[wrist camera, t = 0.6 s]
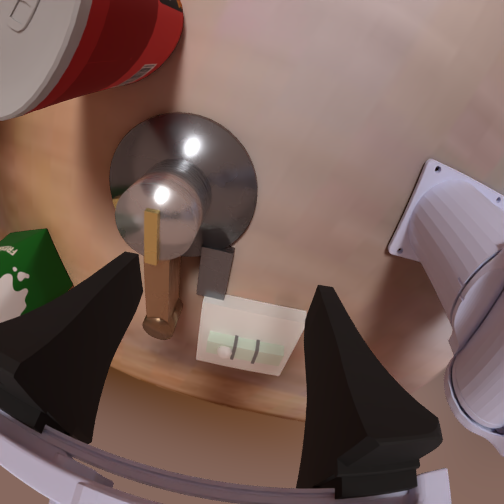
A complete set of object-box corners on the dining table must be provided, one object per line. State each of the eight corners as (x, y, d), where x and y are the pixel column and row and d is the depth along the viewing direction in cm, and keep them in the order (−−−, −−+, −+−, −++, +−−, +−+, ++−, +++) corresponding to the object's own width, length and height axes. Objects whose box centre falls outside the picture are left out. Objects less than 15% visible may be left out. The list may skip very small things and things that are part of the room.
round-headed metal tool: (145, 153, 18) (110, 180, 15) (217, 165, 19) (197, 196, 15) (145, 300, 26) (126, 339, 23) (196, 314, 27) (183, 355, 23)
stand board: (306, 310, 26) (307, 341, 23) (279, 364, 31) (278, 391, 29) (206, 289, 26) (197, 319, 23) (198, 348, 31) (191, 374, 28)
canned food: (209, -6, 13) (124, -69, 4) (156, 100, 17) (42, 148, 8) (113, -27, 11) (-3, -55, 2) (72, 69, 16) (-49, 104, 7)
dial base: (273, 128, 18) (273, 132, 17) (234, 296, 26) (232, 304, 25) (115, 105, 17) (107, 108, 16) (118, 267, 26) (113, 275, 25)
